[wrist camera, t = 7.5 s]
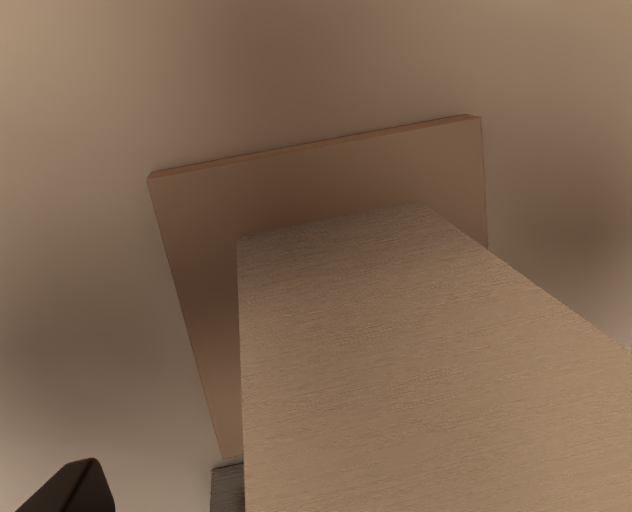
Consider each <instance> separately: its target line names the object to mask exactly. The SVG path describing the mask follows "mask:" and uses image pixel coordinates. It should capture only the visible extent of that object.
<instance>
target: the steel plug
mask: <svg viewBox="0 0 632 512" xmlns="http://www.w3.org/2000/svg"><path fill="white" fill-rule="evenodd" d="M236 241H237V271H238V302H239V332H240V362H241V392H242V422H243V452H244V482H245V512H632V353H631V352H630V351H628V350H627V349H626V348H624V347H623V346H621V345H620V344H619V343H617V342H616V341H614V340H613V339H612V338H610V337H609V336H607V335H606V334H605V333H603V332H602V331H600V330H599V329H598V328H596V327H595V326H593V325H592V324H591V323H589V322H588V321H586V320H585V319H584V318H582V317H581V316H579V315H578V314H577V313H575V312H574V311H572V310H571V309H570V308H568V307H567V306H565V305H564V304H563V303H561V302H560V301H558V300H557V299H556V298H554V297H553V296H551V295H550V294H549V293H547V292H546V291H544V290H543V289H542V288H540V287H539V286H537V285H536V284H535V283H533V282H532V281H530V280H529V279H528V278H526V277H525V276H523V275H522V274H521V273H519V272H518V271H516V270H515V269H514V268H512V267H511V266H510V265H508V264H507V263H505V262H504V261H503V260H501V259H500V258H498V257H497V256H496V255H494V254H493V253H491V252H490V251H489V250H487V249H486V248H484V247H483V246H482V245H480V244H479V243H477V242H476V241H475V240H473V239H472V238H470V237H469V236H468V235H466V234H465V233H463V232H462V231H461V230H459V229H458V228H456V227H455V226H454V225H452V224H451V223H449V222H448V221H447V220H445V219H444V218H442V217H441V216H440V215H438V214H437V213H435V212H434V211H433V210H431V209H430V208H428V207H427V206H426V205H424V204H423V203H421V202H420V201H419V200H418V201H413V202H408V203H403V204H398V205H393V206H388V207H383V208H379V209H374V210H369V211H364V212H359V213H354V214H349V215H344V216H340V217H335V218H330V219H325V220H320V221H315V222H310V223H305V224H301V225H296V226H291V227H286V228H281V229H276V230H271V231H267V232H262V233H257V234H252V235H247V236H242V237H237V238H236Z"/></svg>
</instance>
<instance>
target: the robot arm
mask: <svg viewBox="0 0 632 512" xmlns="http://www.w3.org/2000/svg"><path fill="white" fill-rule="evenodd" d="M15 512H115V503H114V499H113V496H112V494H111V491H110V488H109V486H108V483H107V480H106V478H105V475H104V472H103V470H102V467H101V465H100V463H99V461H98V460H97V459H95V458H87V459H83V460H78V461H74V462H70V463H67V464H66V465H64V466H63V467H62V468H61V469H60V470H59V471H58V472H57V473H56V474H55V475H54V476H52V477H51V478H50V479H49V480H48V481H47V482H46V483H45V484H44V485H43V486H42V487H41V488H40V489H39V490H38V491H37V492H35V493H34V494H33V495H32V496H31V497H30V498H29V499H28V500H27V501H26V502H25V503H24V504H23V505H22V506H21V507H19V508H18V509H17V510H16V511H15Z"/></svg>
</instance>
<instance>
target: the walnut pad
mask: <svg viewBox="0 0 632 512" xmlns="http://www.w3.org/2000/svg"><path fill="white" fill-rule="evenodd" d="M146 181H147V185H148V188H149V192H150V196H151V199H152V203H153V207H154V210H155V214H156V217H157V221H158V225H159V228H160V232H161V236H162V239H163V243H164V247H165V250H166V254H167V258H168V261H169V265H170V268H171V272H172V276H173V279H174V283H175V287H176V290H177V294H178V298H179V301H180V305H181V309H182V312H183V316H184V320H185V323H186V327H187V330H188V334H189V338H190V341H191V345H192V349H193V352H194V356H195V360H196V363H197V367H198V371H199V374H200V378H201V381H202V385H203V389H204V392H205V396H206V400H207V403H208V407H209V411H210V414H211V418H212V422H213V425H214V429H215V433H216V436H217V440H218V443H219V447H220V451H221V454H222V458H223V459H226V458H231V457H235V456H239V455H243V454H244V452H243V422H242V392H241V362H240V332H239V302H238V271H237V241H236V238H237V237H242V236H247V235H252V234H257V233H262V232H267V231H271V230H276V229H281V228H286V227H291V226H296V225H301V224H305V223H310V222H315V221H320V220H325V219H330V218H335V217H340V216H344V215H349V214H354V213H359V212H364V211H369V210H374V209H379V208H383V207H388V206H393V205H398V204H403V203H408V202H413V201H418V200H419V201H420V202H421V203H423V204H424V205H426V206H427V207H428V208H430V209H431V210H433V211H434V212H435V213H437V214H438V215H440V216H441V217H442V218H444V219H445V220H447V221H448V222H449V223H451V224H452V225H454V226H455V227H456V228H458V229H459V230H461V231H462V232H463V233H465V234H466V235H468V236H469V237H470V238H472V239H473V240H475V241H476V242H477V243H479V244H480V245H482V246H483V247H484V248H486V249H487V250H488V242H487V222H486V203H485V184H484V164H483V145H482V125H481V117H477V116H472V115H467V114H464V115H459V116H453V117H448V118H442V119H437V120H432V121H426V122H421V123H415V124H410V125H405V126H399V127H394V128H388V129H383V130H378V131H372V132H367V133H361V134H356V135H351V136H345V137H340V138H335V139H329V140H324V141H318V142H313V143H308V144H302V145H297V146H291V147H286V148H281V149H275V150H270V151H264V152H259V153H254V154H248V155H243V156H237V157H232V158H227V159H221V160H216V161H210V162H205V163H200V164H194V165H189V166H183V167H178V168H173V169H167V170H162V171H156V172H152V173H151V174H150V175H149V177H148V178H147V179H146Z"/></svg>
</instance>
